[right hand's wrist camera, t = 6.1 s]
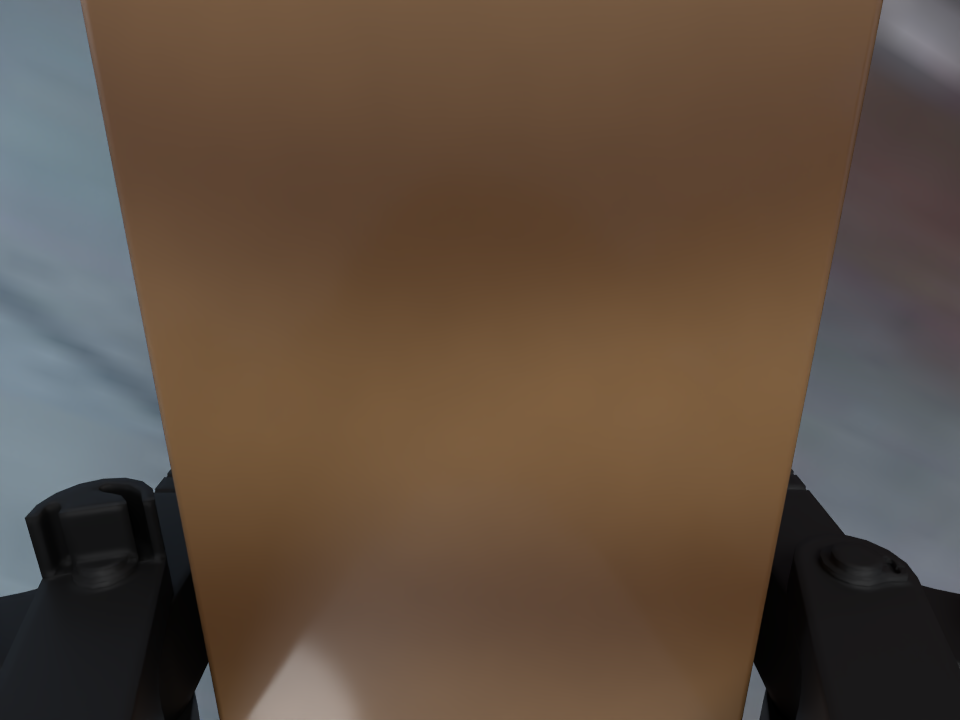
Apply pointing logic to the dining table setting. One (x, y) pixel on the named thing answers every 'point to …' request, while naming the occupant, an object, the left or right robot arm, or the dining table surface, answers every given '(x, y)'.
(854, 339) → the dining table surface
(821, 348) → the dining table surface
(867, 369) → the dining table surface
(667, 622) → the bar
